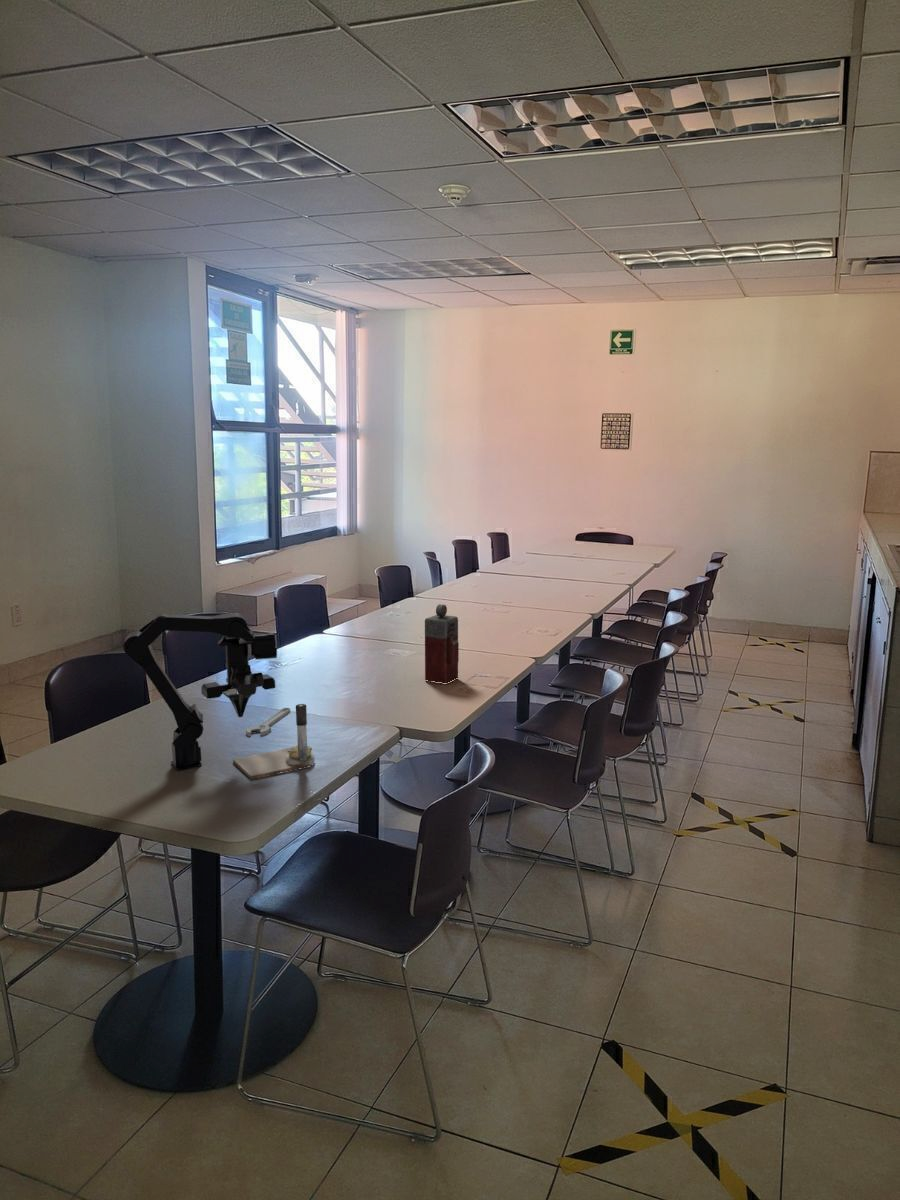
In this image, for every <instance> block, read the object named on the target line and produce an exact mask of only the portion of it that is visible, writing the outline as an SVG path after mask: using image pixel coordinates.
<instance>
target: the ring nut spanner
mask: <svg viewBox="0 0 900 1200" xmlns="http://www.w3.org/2000/svg"><path fill="white" fill-rule="evenodd" d="M307 711H308V710H307V704H305V703H298V704H296V705H295V723H296V735H297V736H296V737H297V744H296V745H294V746H291V747H288V748H289V750H288V752H289V758H291V759H299V760H300V761H301V760H307V758H309V757H310V756H311V753H312V750H313V748H312V746H311V747H310V746H308V735H307V733H308V731H307V730H308V729H307V724H308V719H307V718H308V717H307V715H308V714H307Z"/></svg>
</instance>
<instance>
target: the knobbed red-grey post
mask: <svg viewBox="0 0 900 1200" xmlns="http://www.w3.org/2000/svg"><path fill="white" fill-rule="evenodd" d="M447 611H448V607H447V605H445V604H440V603H439V604H437V605H436V608H435V615H432V616H429V617H426V618H425V619H424V681H425V680H428V681H435V682H442V683H448V682H450V681H452V680H454V679H456V678H458V679H459V658H460V657H459V655H460V654H459V653H460V651H459V650H460V649H459V644H460V643H459V617H457V616H454V615H447V613H448V612H447Z"/></svg>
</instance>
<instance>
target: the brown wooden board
mask: <svg viewBox="0 0 900 1200" xmlns="http://www.w3.org/2000/svg"><path fill="white" fill-rule="evenodd" d="M289 748H290V747H288V748H283V749H279V750H273V751H269V752H263V753H259V754H254V755H248V756H244V757H239V758H235V759H232V761H233V762H232V763H233V764H234V766H236V767H237V769H239V770H240V771H241V772H242V771H243V772H244V773H245V774H244V773H243V772H242V773H243V774H244V775H245V776H246V777H248V779H249V780H251V779H253V780H256V779H255V778H258V779H261V778H260V777H262V778H265V777H264V776H267V777H269V776H268V775H272V776H274V775H273V774H276V775H278V774H277V773H280V772H285V773H287V772H286V771H290V770H294V771H296V770H295V769H299V768H304V767H308V766H311V765H312V764H314V765H315V763H316V762H315V754H314V752H313V753H312V752H311V756H310V757H309V758H307V760H301V761H300V760H299V759H291V758H289V752H288V750H289ZM314 762H315V763H314ZM311 767H312V766H311ZM308 768H309V767H308ZM304 769H305V768H304ZM299 770H300V769H299ZM290 772H291V771H290Z"/></svg>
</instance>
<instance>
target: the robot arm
mask: <svg viewBox="0 0 900 1200" xmlns="http://www.w3.org/2000/svg"><path fill="white" fill-rule="evenodd" d="M168 631H171V632H193V633H194V632H196V633H197V632H198V633H213V634H217V635H220V636H222V638H220V640H218V642H217V644H218V646H219V647H225V660H226V663H225V668H226V678H225V680H226V683H227V684H219V683H218V682H217V681H214V682H207V683H203V684H202V685H201V688H200V690H201V693H200V694H201V695H202V696H203V697H205V698H206V699H207V700H208V699H217V698H220V697H221V696H222V695H224V697H226V698H228V699H229V700H230V703H231V704H232V707H233V708H234V710H235V713H236V715H237V717H238V718H243V717H244V713H245V710H246V708H247V704H248V702H249V700H250V698H251V697H252V696H253V695H255V694H256V693H257V688H259V687H261V688H262V689H264V690H265V691H266V690H273V689H276V680H275V678H274V677H272V676H271V675H269V674H268V673H266V674H263V673H262V672H256V673H252V669H251V665H250V664H249V663H250V662H249V648H250V657H253V658H254V659H255V660H266V659H267V660H268V659H277V657H278V648H277V643H276V636H275V635H276V634H275V632H268V633H263V634H254V632H253V630H251V629H250V628H249V626H248V623H247V619H246V618H245V616H243V614H241V613H240V612H229V613H222V614H218V615H209V616H208V615H207V616H205V615H187V614H185V615H183V614H168V613H167V614H166V613H159V614H156V616H155V617H154V618H153V619H152V620H151V621H149V622H148V623H147V624H145V625H143V626H142V627H141V628H140V629H139V630H137V631H136V630H135V631H132V632H130V633H128V634H127V636H126V637H125V640H124V644H123V651H124V653H125V655H127V657H128V658H130V659H131V661H133V663H134V664H136V665H137V666H138V667H140V668H141V669H142V670H143V671H144V672H145V674H146V675H147V677H148V678H149V680H150V681H151V683H152V685H153V686H154V688H155V689H156V690H157V692H158V693H159V695H160V696H161V697H162V699H163V700H164V702H165V703H166V705H167V706H168V708H169V709H170V711H171V712H172V715H173V717H174V720H175V722H176V725H177V727H176V729H175V730H173V733H172V734H173V736H172V743H171V754H172V756H171V757H172V761H170V763H171V765H172V766H173V767H174V769H176V770H177V771H182V770H186V769H191V768H196V767H201V766H202V763H201V761H202V748H201V746H200V744H199V741H198V739H199V738H200V737H201V736H203V732H204V714H203V713H201V712H200V711H199V709H198V707H197V705H196V703H193V704H192V705H189V704H188V703H187V702H186V701H185V699H184V698H183V697H182V695H181V694H180V692H179V691H178V689H177V688H176V686H175V685H174V683H173V682H172V681H171V679H170V678H169V676H168V674H167V673H166V672H165V670H164V668H163V667H162V665H161V664H160V663H159V661H158V660H157V658H156V657H157V656H156V655H155V652H154V649H153V646H152V644H153V643H154V642H155V640H157V638H159V637H160V635H162V634H163V633H164V632H168Z"/></svg>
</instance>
